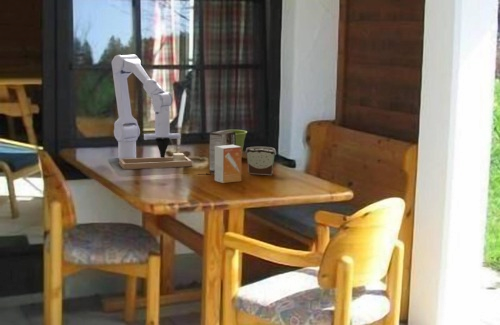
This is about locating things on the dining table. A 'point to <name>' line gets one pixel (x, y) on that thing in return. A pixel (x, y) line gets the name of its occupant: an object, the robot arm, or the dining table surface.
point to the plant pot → (239, 137)
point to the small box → (228, 163)
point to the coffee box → (219, 143)
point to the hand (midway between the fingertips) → (162, 157)
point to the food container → (260, 160)
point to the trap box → (153, 162)
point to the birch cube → (178, 157)
